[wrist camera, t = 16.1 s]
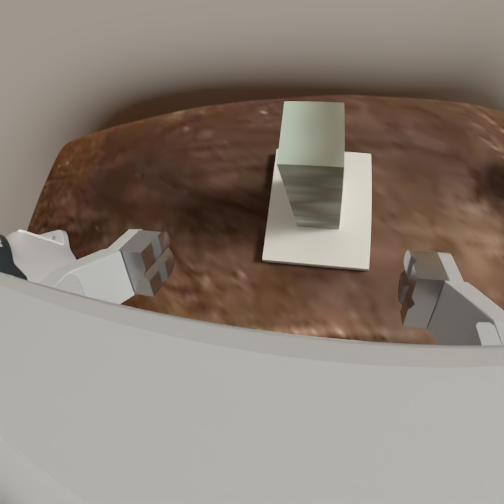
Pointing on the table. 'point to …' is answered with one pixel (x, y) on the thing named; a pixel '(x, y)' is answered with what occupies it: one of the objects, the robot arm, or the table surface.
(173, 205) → the table surface
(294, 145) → the handle block
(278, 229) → the ceramic tile
